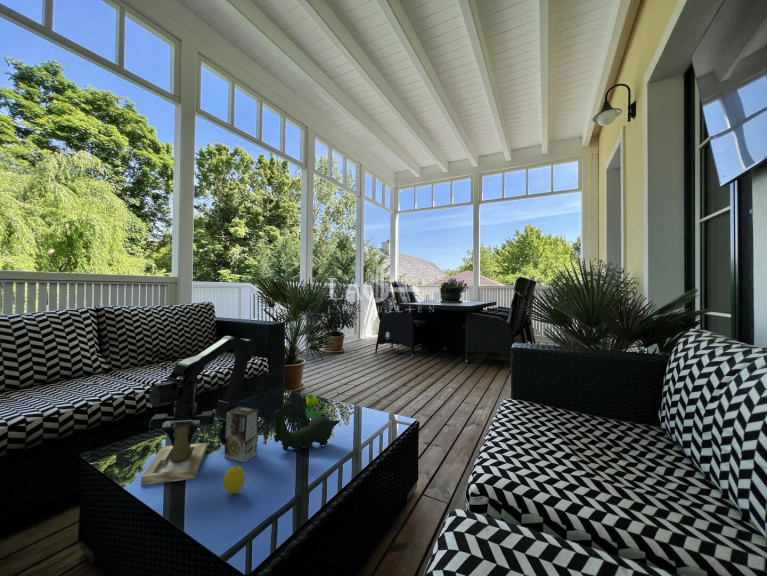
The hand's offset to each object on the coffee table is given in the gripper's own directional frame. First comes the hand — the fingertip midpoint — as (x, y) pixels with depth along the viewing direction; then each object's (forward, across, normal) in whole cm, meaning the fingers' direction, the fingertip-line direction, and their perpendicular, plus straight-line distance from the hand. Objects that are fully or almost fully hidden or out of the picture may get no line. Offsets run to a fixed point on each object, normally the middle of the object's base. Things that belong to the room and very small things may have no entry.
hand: (181, 444), depth 111 cm
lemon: (+5, -19, +25) cm, 32 cm away
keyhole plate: (+5, 0, +4) cm, 6 cm away
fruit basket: (+6, -49, -31) cm, 58 cm away
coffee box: (+5, -19, +2) cm, 20 cm away
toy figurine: (+6, -42, 0) cm, 42 cm away
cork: (+4, 0, 0) cm, 4 cm away
